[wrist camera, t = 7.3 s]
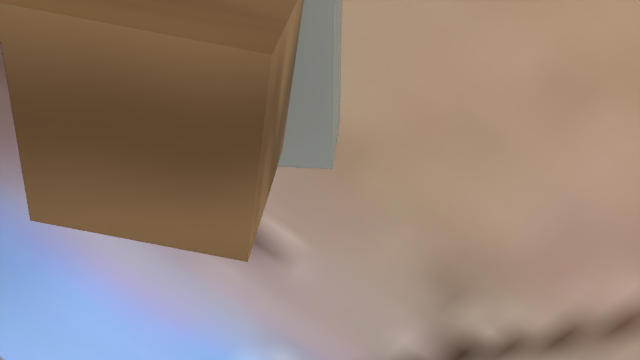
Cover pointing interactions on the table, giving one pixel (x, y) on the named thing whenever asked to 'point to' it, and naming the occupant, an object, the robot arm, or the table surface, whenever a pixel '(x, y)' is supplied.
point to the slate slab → (315, 88)
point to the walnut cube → (151, 114)
